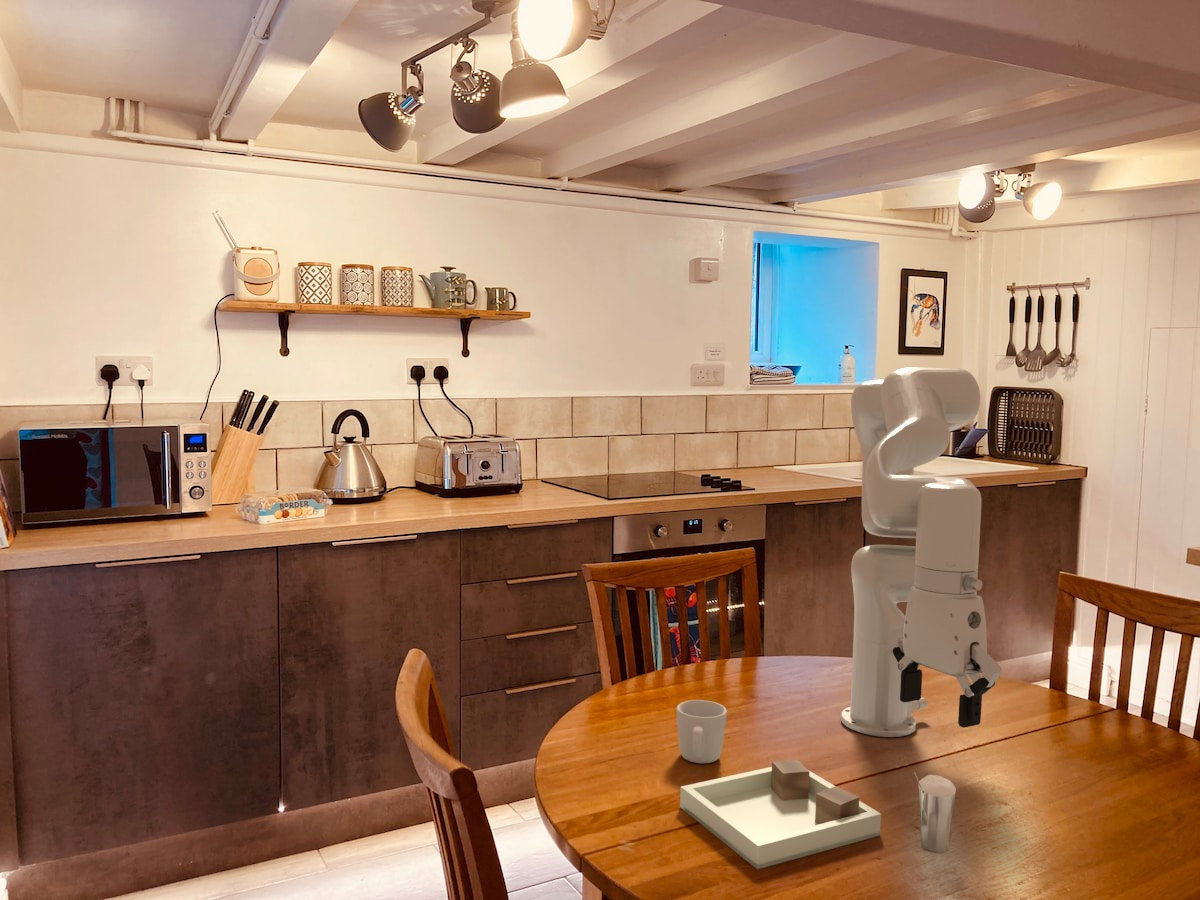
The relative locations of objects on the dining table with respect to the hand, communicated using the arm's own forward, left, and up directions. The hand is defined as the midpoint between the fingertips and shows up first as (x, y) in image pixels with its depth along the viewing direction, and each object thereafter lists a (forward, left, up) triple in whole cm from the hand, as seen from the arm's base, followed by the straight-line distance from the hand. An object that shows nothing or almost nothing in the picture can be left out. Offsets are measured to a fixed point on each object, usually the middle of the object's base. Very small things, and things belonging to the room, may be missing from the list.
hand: (938, 712), depth 120 cm
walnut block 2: (+8, -9, -18) cm, 21 cm away
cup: (+13, -35, -18) cm, 42 cm away
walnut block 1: (+8, -19, -18) cm, 27 cm away
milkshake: (0, 0, -18) cm, 18 cm away
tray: (+14, -14, -18) cm, 27 cm away
